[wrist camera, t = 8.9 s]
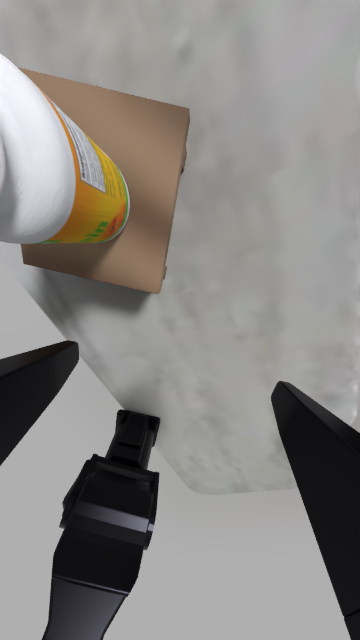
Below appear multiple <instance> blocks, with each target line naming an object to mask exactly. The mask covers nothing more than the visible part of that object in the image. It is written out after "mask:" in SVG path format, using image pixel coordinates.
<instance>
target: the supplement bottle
mask: <svg viewBox="0 0 360 640" xmlns="http://www.w3.org/2000/svg"><path fill="white" fill-rule="evenodd" d="M129 210H130V199H129V193H128V188H127V185H126V182H125V180H124V177H123V175H122V173H121V172H120V170H119V169H118V167H117V166H116V165H115V164H114V162H113V161H112V160H111V159H110V158H109V157H108V156H107V155H106V154H105V153H104V152H103V151H102V150H101V149H100V148H99V147H98V146H97V145H96V144H95V143H94V142H93V141H92V140H91V139H90V138H89V137H88V136H87V135H86V134H85V133H84V132H83V131H82V130H81V129H80V128H79V127H78V126H77V125H76V124H75V123H74V122H73V121H72V120H71V119H70V118H69V117H68V116H67V115H66V114H65V113H64V112H63V111H62V110H61V109H60V108H59V107H58V106H57V105H56V104H55V103H54V102H53V101H52V100H51V99H50V98H49V97H47V96H46V95H45V94H44V93H43V91H42V90H41V89H40V88H39V87H38V86H37V85H36V84H35V83H34V82H32V81H31V80H30V79H29V78H28V77H27V76H26V75H25V74H24V73H23V72H22V71H20V70H19V69H18V68H17V67H16V66H15V65H14V64H13V63H11V62H10V61H9V60H8V59H7V58H5V57H4V56H3V55H1V54H0V241H2V242H7V243H17V244H49V243H101V242H106V241H109V240H111V239H113V238H114V237H116V236H117V235H118V234H119V233H120V232H121V231H122V229H123V228H124V226H125V224H126V222H127V219H128V216H129Z"/></svg>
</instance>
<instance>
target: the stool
mask: <svg viewBox="0 0 360 640" xmlns="http://www.w3.org/2000/svg"><path fill="white" fill-rule="evenodd" d="M17 68H18V67H17ZM18 69H19V70H20V71H22V72H23V73H24V74H25V75H26V76H27V77H28V78H29V79H30V80H31V81H32V82H34V83H35V84H36V85H37V86H38V87H39V88H40V89H41V90H42V91H43V93H44V94H45V95H46V96H47V97H49V98H50V99H51V100H52V101H53V102H54V103H55V104H56V105H57V106H58V107H59V108H60V109H61V110H62V111H63V112H64V113H65V114H66V115H67V116H68V117H69V118H70V119H71V120H72V121H73V122H74V123H75V124H76V125H77V126H78V127H79V128H80V129H81V130H82V131H83V132H84V133H85V134H86V135H87V136H88V137H89V138H90V139H91V140H92V141H93V142H94V143H95V144H96V145H97V146H98V147H99V148H100V149H101V150H102V151H103V152H104V153H105V154H106V155H107V156H108V157H109V158H110V159H111V160H112V161H113V162H114V164H115V165H116V166H117V167H118V169H119V170H120V172H121V173H122V175H123V177H124V180H125V182H126V185H127V188H128V193H129V199H130V210H129V216H128V219H127V222H126V224H125V226H124V228H123V229H122V231H121V232H120V233H119V234H118V235H117V236H116V237H114V238H113V239H111V240H109V241H106V242H101V243H49V244H21V248H22V255H23V263H24V264H27V265H32V266H36V267H40V268H45V269H49V270H54V271H58V272H63V273H67V274H71V275H76V276H80V277H85V278H89V279H94V280H98V281H102V282H107V283H111V284H116V285H120V286H125V287H129V288H133V289H138V290H142V291H147V292H151V293H156V294H159V292H160V291H161V287H162V281H163V280H164V279H165V274H166V268H167V267H166V266H165V263H166V258H167V252H168V246H169V240H170V234H171V228H172V222H173V217H174V211H175V205H176V199H177V193H178V187H179V181H180V176H181V171H184V165H185V160H186V154H187V152H186V140H187V135H188V129H189V123H190V117H189V109H188V108H184V107H180V106H176V105H172V104H168V103H163V102H159V101H155V100H151V99H147V98H143V97H138V96H134V95H130V94H126V93H122V92H118V91H113V90H109V89H105V88H101V87H97V86H93V85H88V84H84V83H80V82H76V81H72V80H68V79H63V78H59V77H55V76H51V75H47V74H43V73H38V72H34V71H30V70H26V69H22V68H18Z"/></svg>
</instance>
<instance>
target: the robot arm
mask: <svg viewBox="0 0 360 640" xmlns="http://www.w3.org/2000/svg"><path fill="white" fill-rule="evenodd" d="M78 360H79V346H78V343H77V342H74V341H69V340H67V341H63V342H60V343H56V344H53V345H50V346H46V347H42V348H39V349H35V350H32V351H28V352H25V353H21V354H17V355H14V356H10V357H7V358H4V359H0V465H1V464H2V463H3V462H4V460H5V459H6V458H7V457H8V456H9V454H10V453H11V452H12V450H13V449H14V448H15V447H16V445H17V444H18V443H19V441H20V440H21V439H22V438H23V436H24V435H25V434H26V433H27V432H28V430H29V429H30V428H31V426H32V425H33V424H34V423H35V422H36V420H37V419H38V418H39V416H40V415H41V414H42V413H43V411H44V410H45V409H46V408H47V406H48V405H49V404H50V403H51V401H52V400H53V399H54V397H55V396H56V395H57V393H58V392H59V390H60V389H61V388H62V386H63V385H64V383H65V382H66V380H67V379H68V377H69V375H70V374H71V372H72V371H73V369H74V368H75V366H76V365H77V363H78ZM271 401H272V405H273V409H274V414H275V418H276V422H277V426H278V430H279V433H280V437H281V440H282V443H283V446H284V449H285V451H286V454H287V457H288V460H289V463H290V466H291V469H292V471H293V474H294V477H295V480H296V483H297V486H298V489H299V491H300V494H301V497H302V500H303V503H304V506H305V509H306V511H307V514H308V517H309V520H310V523H311V526H312V528H313V532H314V534H315V537H316V540H317V543H318V546H319V549H320V552H321V554H322V557H323V560H324V563H325V566H326V569H327V572H328V574H329V577H330V580H331V583H332V585H333V589H334V592H335V594H336V597H337V600H338V603H339V606H340V609H341V612H342V614H343V616H344V621H345V624H346V627H347V629H348V632H349V635H350V638H351V640H360V433H359V432H357V431H356V430H355V429H353V428H352V427H350V426H349V425H348V424H346V423H345V422H343V421H342V420H341V419H339V418H338V417H337V416H335V415H334V414H332V413H331V412H330V411H328V410H327V409H325V408H324V407H323V406H321V405H320V404H318V403H317V402H316V401H314V400H313V399H311V398H310V397H309V396H307V395H306V394H304V393H303V392H302V391H300V390H299V389H297V388H296V387H295V386H293V385H292V384H290V383H288V382H283V381H279V382H278V383H277V385H276V387H275V389H274V391H273V393H272V395H271ZM159 424H160V418H158V417H153V416H149V415H144V414H140V413H135V412H130V411H126V410H119V411H118V412H117V419H116V430H115V435H114V437H113V440H112V442H111V445H110V447H109V449H108V452H107V454H106V456H105V458H104V457H101V456H98V455H97V454H93V456H92V458H91V459H90V460H86V462H85V464H84V466H83V468H82V470H81V472H80V474H79V476H78V478H77V479H76V481H75V482H74V484H73V485H72V487H71V488H70V490H69V492H68V493H67V495H66V496H65V498H64V501H63V503H62V504H63V509H64V511H63V514H62V520H61V522H60V526H59V527H60V528H63V529H64V531H63V533H62V536H61V538H60V540H59V543H58V545H57V547H56V550H55V552H54V556H53V568H52V579H51V593H50V606H49V620H48V624H47V627H46V630H45V632H44V635H43V638H42V640H103V637H104V634H105V632H106V631H107V629H108V627H109V625H110V624H111V622H112V620H113V619H114V617H115V615H116V613H117V612H118V610H119V608H120V606H121V605H122V603H123V601H124V599H125V598H126V597H127V596H128V595H129V593H130V592H131V590H132V588H133V586H134V584H135V582H136V580H137V578H138V573H139V569H140V564H141V559H142V554H143V550H147V548H148V546H149V543H150V540H151V537H152V533H153V528H154V522H155V516H156V510H157V497H158V483H159V473H158V472H152V471H149V470H147V467H148V462H149V458H150V453H151V448H152V447H153V446H154V445H155V441H156V437H157V433H158V428H159Z"/></svg>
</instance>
